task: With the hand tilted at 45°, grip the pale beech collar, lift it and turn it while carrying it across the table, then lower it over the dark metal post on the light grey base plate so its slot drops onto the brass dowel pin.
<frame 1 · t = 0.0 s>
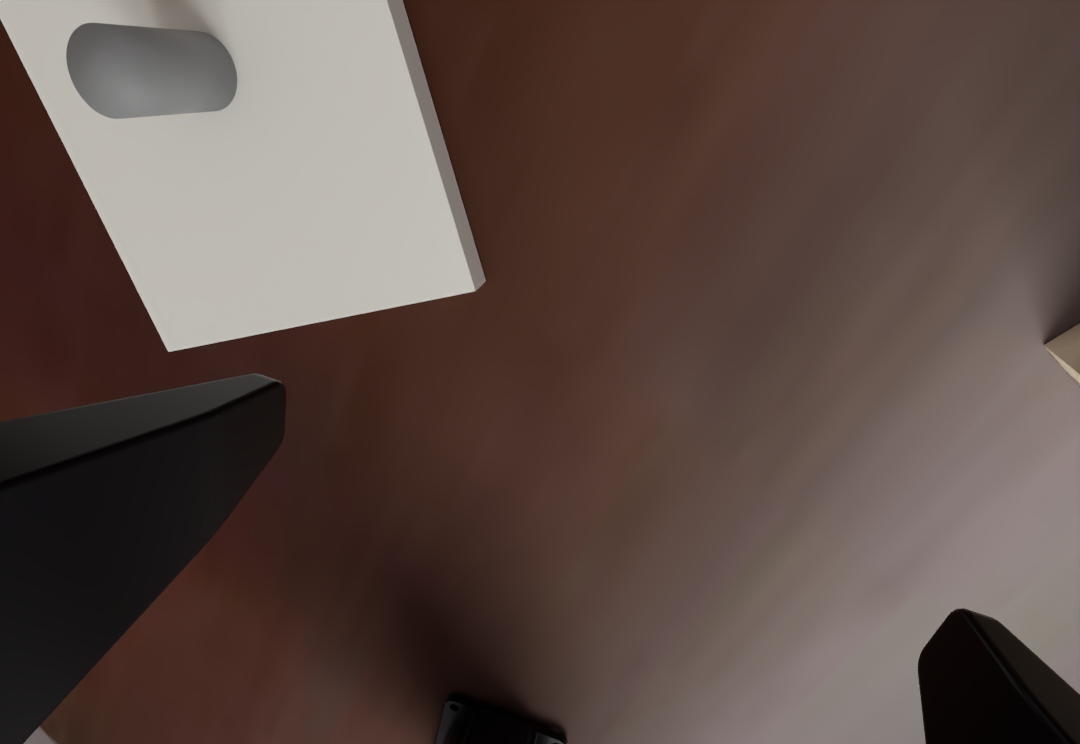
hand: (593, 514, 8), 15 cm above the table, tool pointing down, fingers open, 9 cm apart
post plate: (228, 72, 22), on the table
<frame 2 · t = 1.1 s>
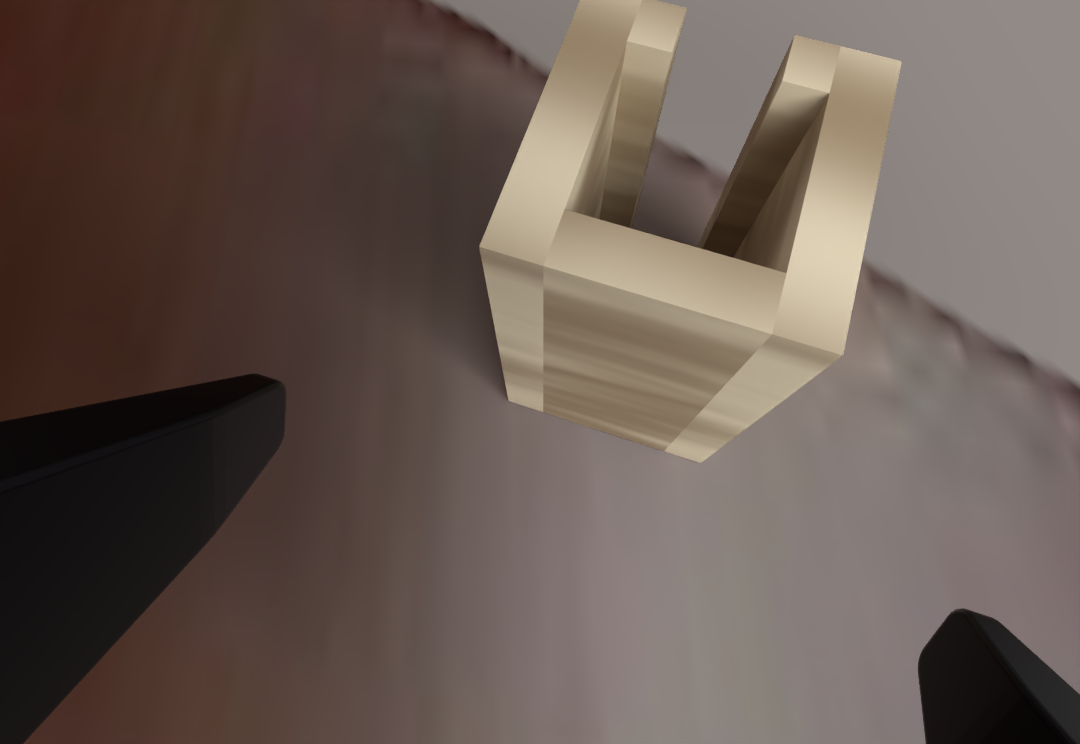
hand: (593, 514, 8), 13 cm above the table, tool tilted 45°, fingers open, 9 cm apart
beech collar: (630, 342, 23), on the table
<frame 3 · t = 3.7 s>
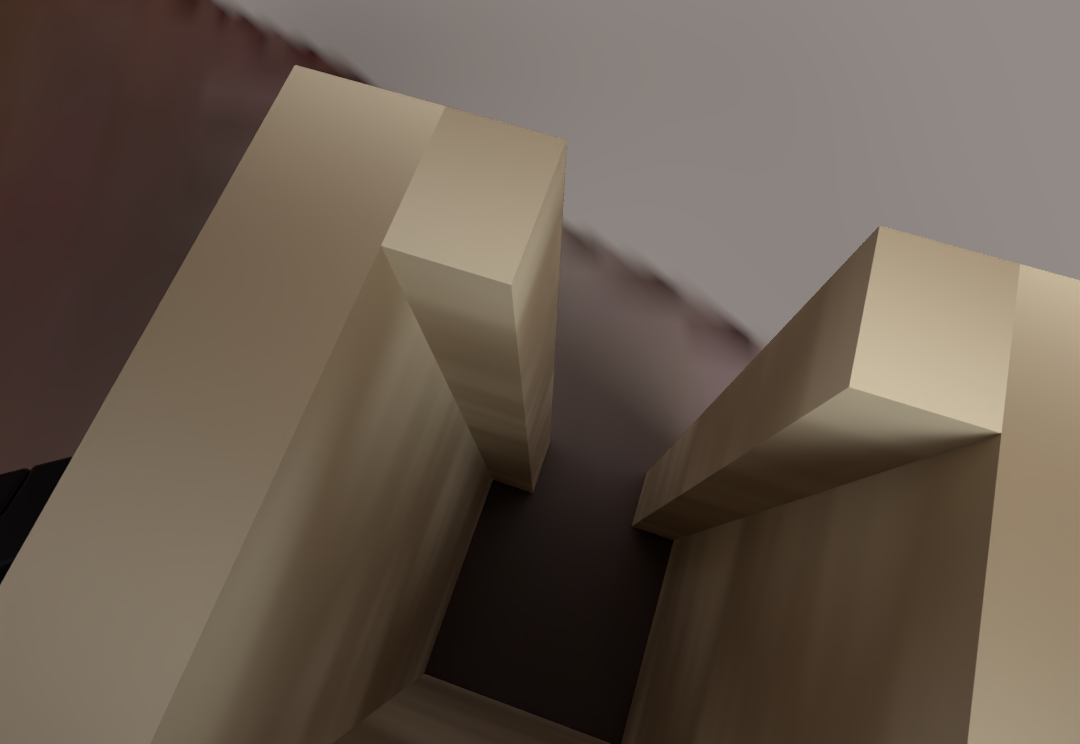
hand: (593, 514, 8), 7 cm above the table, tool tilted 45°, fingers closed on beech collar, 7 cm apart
beech collar: (552, 604, 14), on the table, touching gripper
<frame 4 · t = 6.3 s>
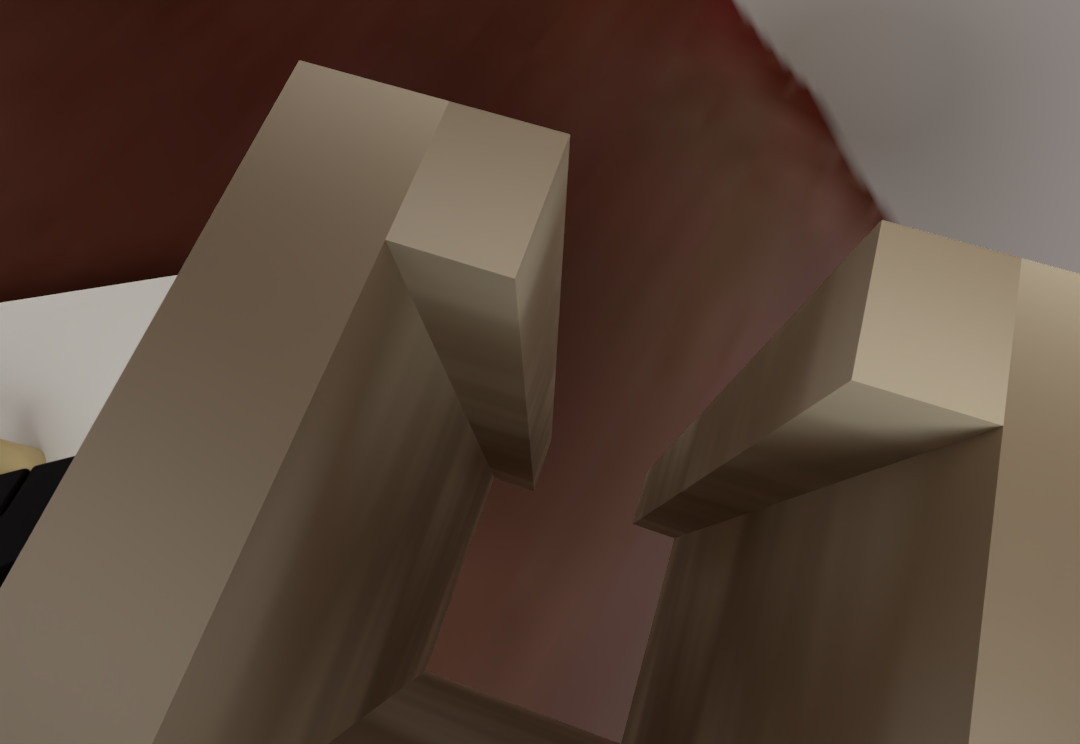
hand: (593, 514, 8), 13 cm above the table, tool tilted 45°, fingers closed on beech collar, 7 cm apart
beech collar: (553, 602, 14), point 7 cm above the table, touching gripper
post plate: (48, 555, 21), on the table
when the fingers open (9 cm above the table, at t = 9.3 s): beech collar stays where it is, resting on post plate.
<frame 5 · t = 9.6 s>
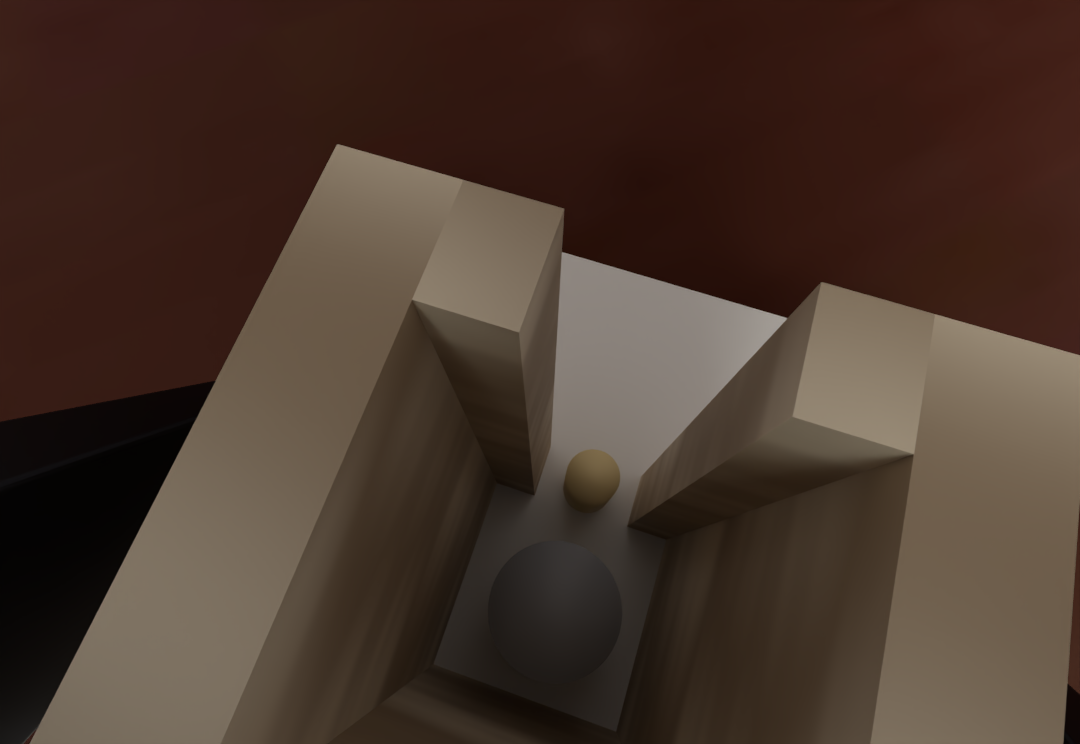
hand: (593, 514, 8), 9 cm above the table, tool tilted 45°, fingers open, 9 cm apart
beech collar: (553, 600, 15), point 1 cm above the table, touching post plate
post plate: (551, 601, 16), on the table
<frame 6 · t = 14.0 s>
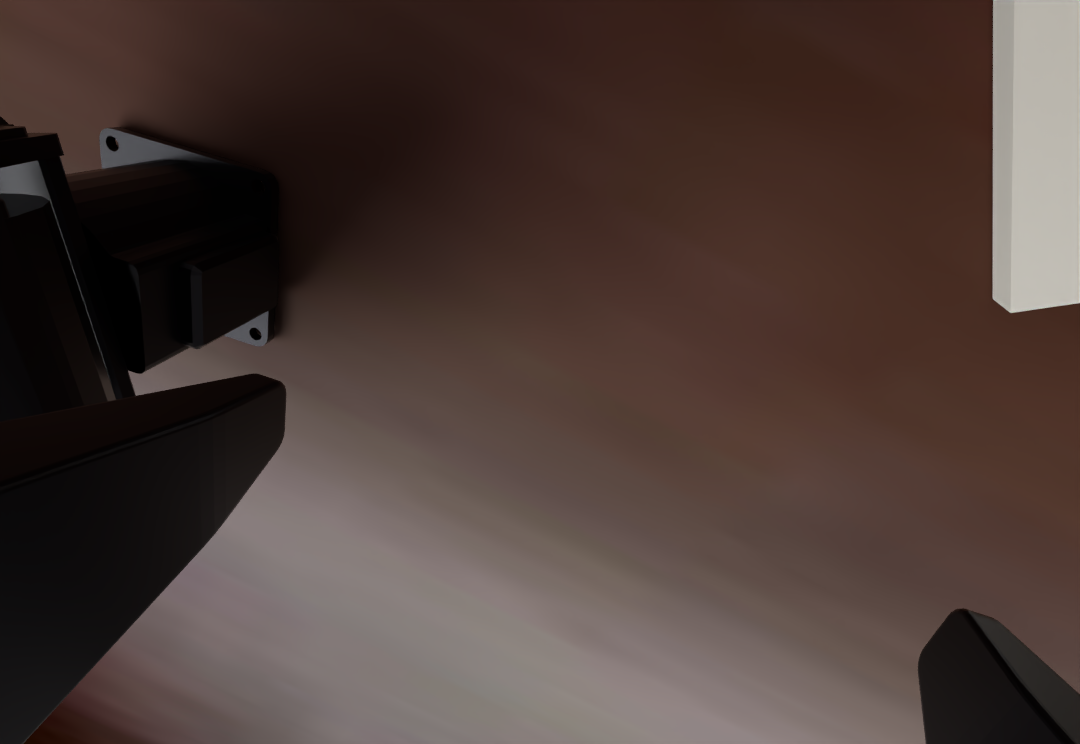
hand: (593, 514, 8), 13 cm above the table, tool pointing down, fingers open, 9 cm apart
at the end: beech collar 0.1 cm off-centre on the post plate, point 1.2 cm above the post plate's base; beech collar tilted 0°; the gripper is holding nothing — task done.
